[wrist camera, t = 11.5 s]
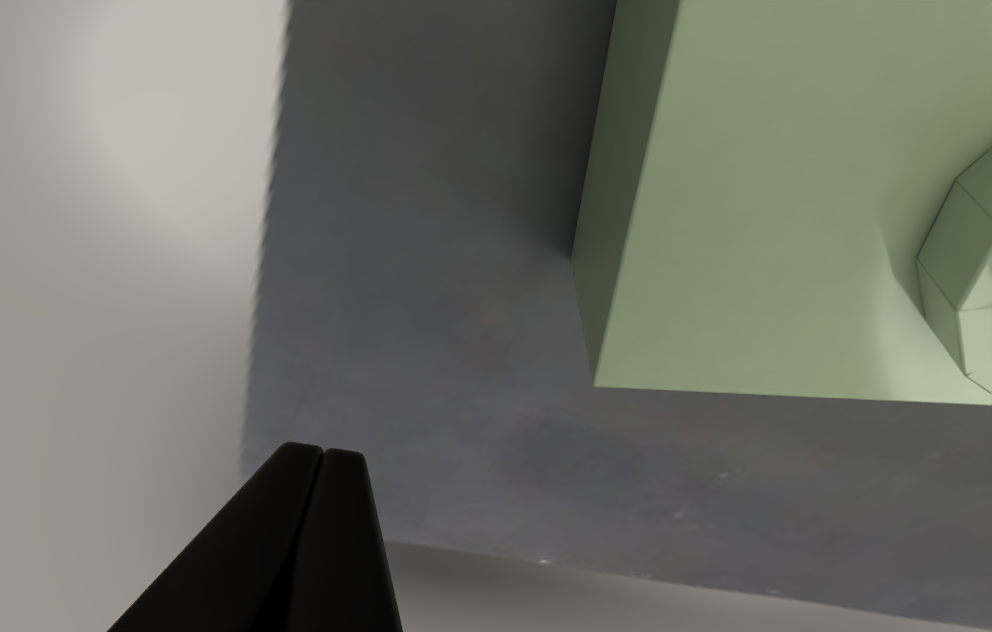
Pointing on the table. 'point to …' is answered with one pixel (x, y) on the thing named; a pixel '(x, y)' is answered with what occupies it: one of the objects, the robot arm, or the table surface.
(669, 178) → the push button box
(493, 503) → the table surface
